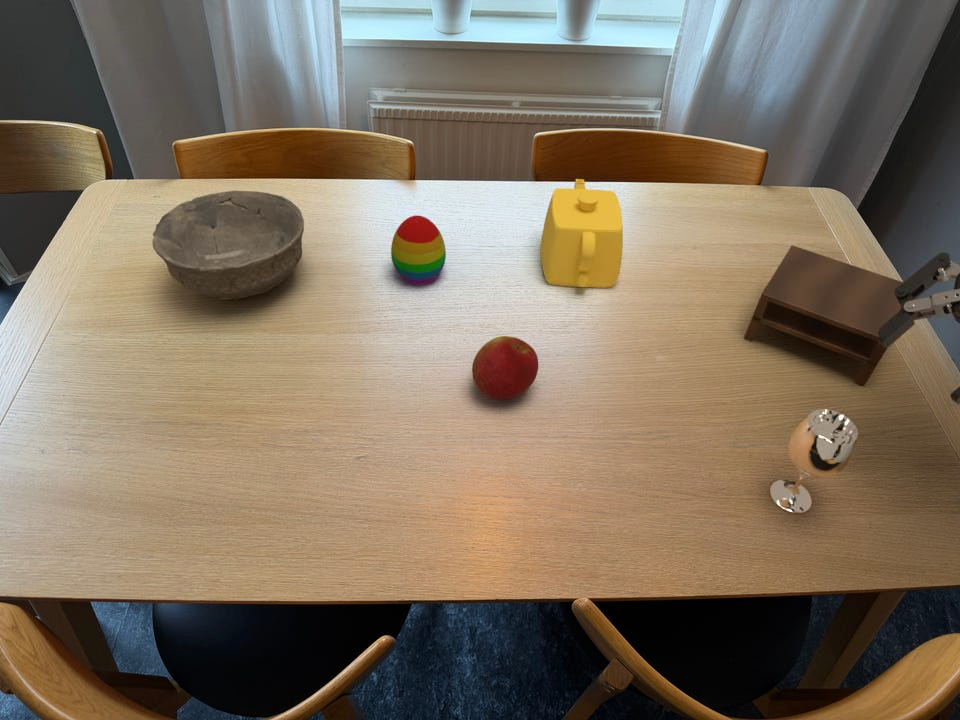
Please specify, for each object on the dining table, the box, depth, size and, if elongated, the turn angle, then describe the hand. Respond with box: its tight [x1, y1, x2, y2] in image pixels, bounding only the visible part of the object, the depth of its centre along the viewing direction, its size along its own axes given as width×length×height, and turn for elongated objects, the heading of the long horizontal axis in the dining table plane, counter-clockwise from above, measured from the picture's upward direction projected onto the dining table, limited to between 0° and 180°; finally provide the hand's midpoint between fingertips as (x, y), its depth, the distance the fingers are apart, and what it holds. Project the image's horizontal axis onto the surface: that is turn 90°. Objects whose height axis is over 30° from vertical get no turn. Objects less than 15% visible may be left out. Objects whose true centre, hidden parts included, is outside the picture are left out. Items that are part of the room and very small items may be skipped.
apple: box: [471, 335, 539, 401], centre depth 82 cm, size 8×8×8 cm
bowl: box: [151, 190, 305, 300], centre depth 96 cm, size 21×21×10 cm
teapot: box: [540, 178, 624, 289], centre depth 101 cm, size 20×12×12 cm, turn 177°
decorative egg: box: [390, 215, 447, 285], centre depth 98 cm, size 8×8×10 cm
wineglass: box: [769, 408, 859, 514], centre depth 69 cm, size 6×6×12 cm
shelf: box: [743, 244, 904, 387], centre depth 91 cm, size 16×14×8 cm
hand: (916, 371), depth 65 cm, fingers open, 8 cm apart
